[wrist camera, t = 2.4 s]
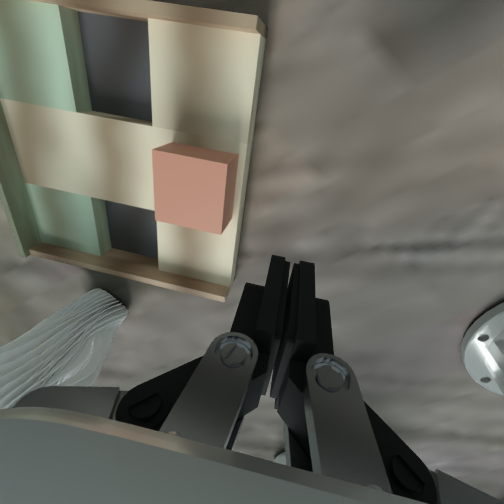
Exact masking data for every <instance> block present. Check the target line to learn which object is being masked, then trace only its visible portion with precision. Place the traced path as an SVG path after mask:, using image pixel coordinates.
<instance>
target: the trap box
mask: <svg viewBox="0 0 504 504" xmlns="http://www.w3.org/2000/svg"><path fill="white" fill-rule="evenodd" d="M267 29H268V28H267V26H266V25H265V24H264V23H263V21H262V20H261V19H260V18H259V17H258V15H251V14H244V13H237V12H229V11H222V10H215V9H208V8H201V7H194V6H186V5H179V4H172V3H165V2H158V1H150V0H0V200H1V203H2V206H3V208H4V211H5V214H6V217H7V220H8V223H9V226H10V229H11V231H12V234H13V237H14V240H15V243H16V246H17V249H18V252H19V254H20V256H22V257H27V256H29V255H34V256H38V257H42V258H46V259H50V260H54V261H58V262H62V263H66V264H70V265H74V266H78V267H83V268H87V269H91V270H95V271H99V272H103V273H107V274H111V275H115V276H119V277H123V278H127V279H131V280H136V281H140V282H144V283H148V284H152V285H156V286H160V287H164V288H168V289H172V290H176V291H180V292H184V293H189V294H193V295H197V296H201V297H205V298H209V299H213V300H217V301H221V302H225V300H226V298H227V296H228V293H229V291H230V289H231V287H232V284H233V282H234V279H235V272H236V264H237V256H238V249H239V241H240V234H241V226H242V218H243V211H244V203H245V196H246V188H247V180H248V173H249V165H250V158H251V150H252V143H253V135H254V127H255V120H256V112H257V105H258V97H259V89H260V82H261V74H262V67H263V59H264V51H265V44H266V36H267ZM171 142H175V143H181V144H186V145H191V146H196V147H202V148H207V149H212V150H217V151H223V152H228V153H233V154H238V155H239V159H238V168H237V177H236V186H235V195H234V204H233V213H232V219H231V221H230V222H229V224H228V225H227V227H226V228H225V230H224V231H223V233H222V234H221V235H219V234H214V233H210V232H205V231H201V230H196V229H192V228H187V227H183V226H178V225H174V224H169V223H165V222H160V221H156V220H155V207H154V186H153V164H152V149H154V148H157V147H160V146H163V145H165V144H168V143H171Z"/></svg>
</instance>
